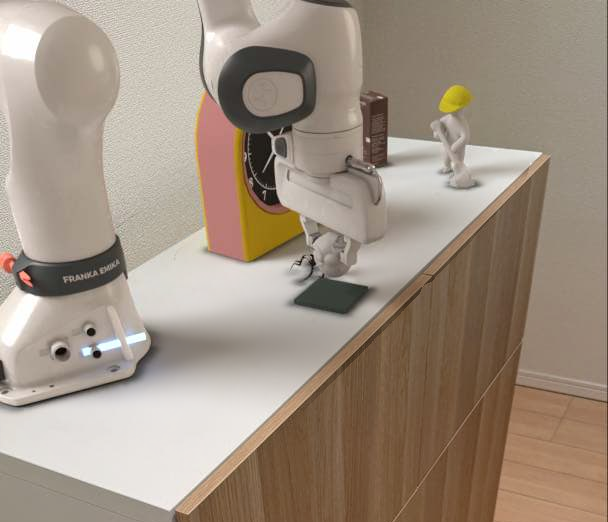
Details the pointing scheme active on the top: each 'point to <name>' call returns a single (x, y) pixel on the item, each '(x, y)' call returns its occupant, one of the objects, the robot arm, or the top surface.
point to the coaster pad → (331, 295)
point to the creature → (309, 265)
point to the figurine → (454, 134)
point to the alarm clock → (239, 187)
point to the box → (374, 127)
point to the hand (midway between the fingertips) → (331, 255)
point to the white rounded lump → (330, 254)
